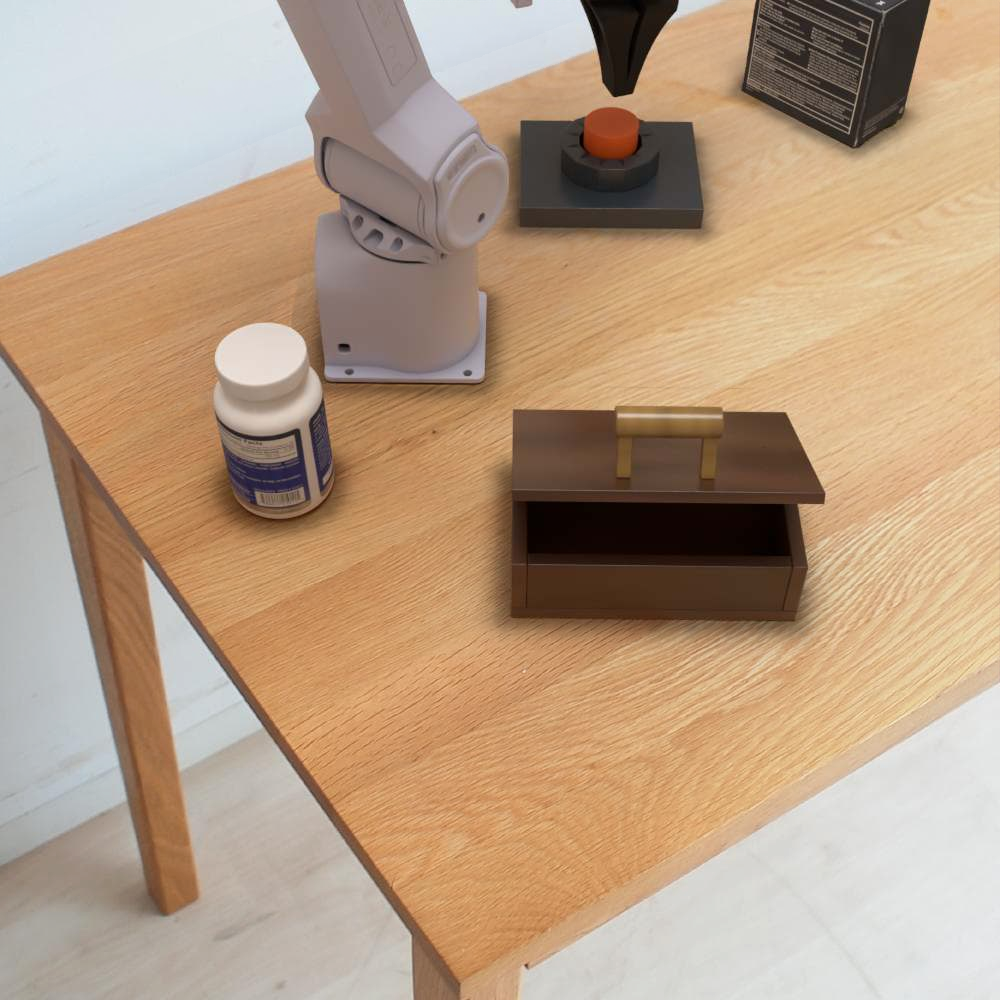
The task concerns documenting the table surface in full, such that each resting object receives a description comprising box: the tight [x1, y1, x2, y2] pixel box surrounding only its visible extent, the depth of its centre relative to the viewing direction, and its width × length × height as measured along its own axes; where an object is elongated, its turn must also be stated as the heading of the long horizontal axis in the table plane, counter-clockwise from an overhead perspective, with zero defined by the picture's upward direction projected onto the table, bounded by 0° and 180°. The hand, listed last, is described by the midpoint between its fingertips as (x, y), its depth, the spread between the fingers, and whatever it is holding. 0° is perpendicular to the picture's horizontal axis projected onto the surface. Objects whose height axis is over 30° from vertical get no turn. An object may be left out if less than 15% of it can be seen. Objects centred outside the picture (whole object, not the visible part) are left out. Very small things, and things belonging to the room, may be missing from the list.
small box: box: [741, 0, 932, 148], centre depth 101 cm, size 11×6×10 cm, turn 44°
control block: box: [518, 115, 705, 230], centre depth 97 cm, size 12×10×4 cm
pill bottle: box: [212, 322, 335, 520], centre depth 77 cm, size 6×6×10 cm
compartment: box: [510, 500, 809, 621], centre depth 76 cm, size 10×15×4 cm
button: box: [583, 106, 639, 159], centre depth 96 cm, size 4×4×2 cm
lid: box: [511, 405, 827, 505], centre depth 72 cm, size 11×15×4 cm
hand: (617, 87), depth 91 cm, fingers closed
